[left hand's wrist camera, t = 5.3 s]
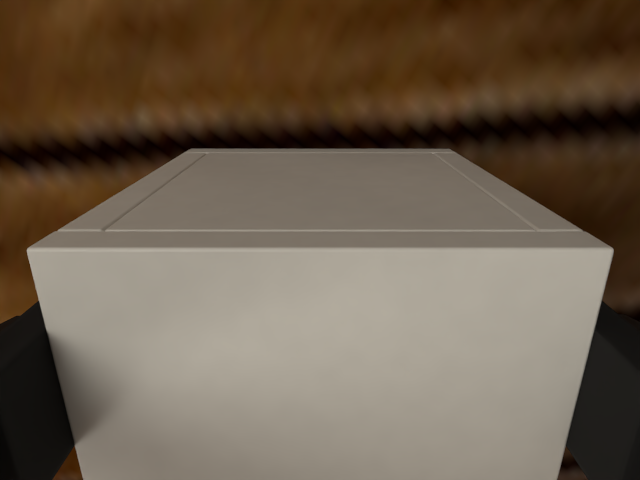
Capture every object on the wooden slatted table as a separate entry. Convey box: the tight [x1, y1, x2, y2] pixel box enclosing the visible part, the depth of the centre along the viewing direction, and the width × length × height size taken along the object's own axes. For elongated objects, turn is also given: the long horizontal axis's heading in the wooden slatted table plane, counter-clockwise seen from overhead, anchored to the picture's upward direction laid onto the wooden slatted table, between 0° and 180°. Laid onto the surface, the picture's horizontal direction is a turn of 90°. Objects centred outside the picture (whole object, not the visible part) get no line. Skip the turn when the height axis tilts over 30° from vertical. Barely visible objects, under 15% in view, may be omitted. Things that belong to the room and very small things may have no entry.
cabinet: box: [27, 149, 614, 480], centre depth 15 cm, size 17×10×10 cm, turn 0°
